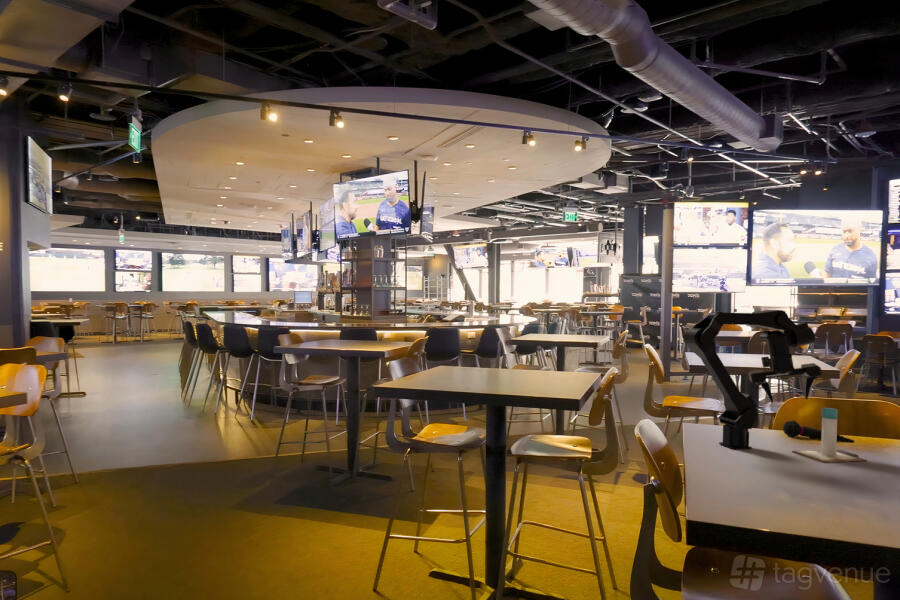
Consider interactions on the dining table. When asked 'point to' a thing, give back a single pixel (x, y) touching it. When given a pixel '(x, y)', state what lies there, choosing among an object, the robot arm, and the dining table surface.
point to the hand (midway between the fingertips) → (789, 400)
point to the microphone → (806, 431)
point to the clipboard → (840, 456)
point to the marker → (829, 431)
